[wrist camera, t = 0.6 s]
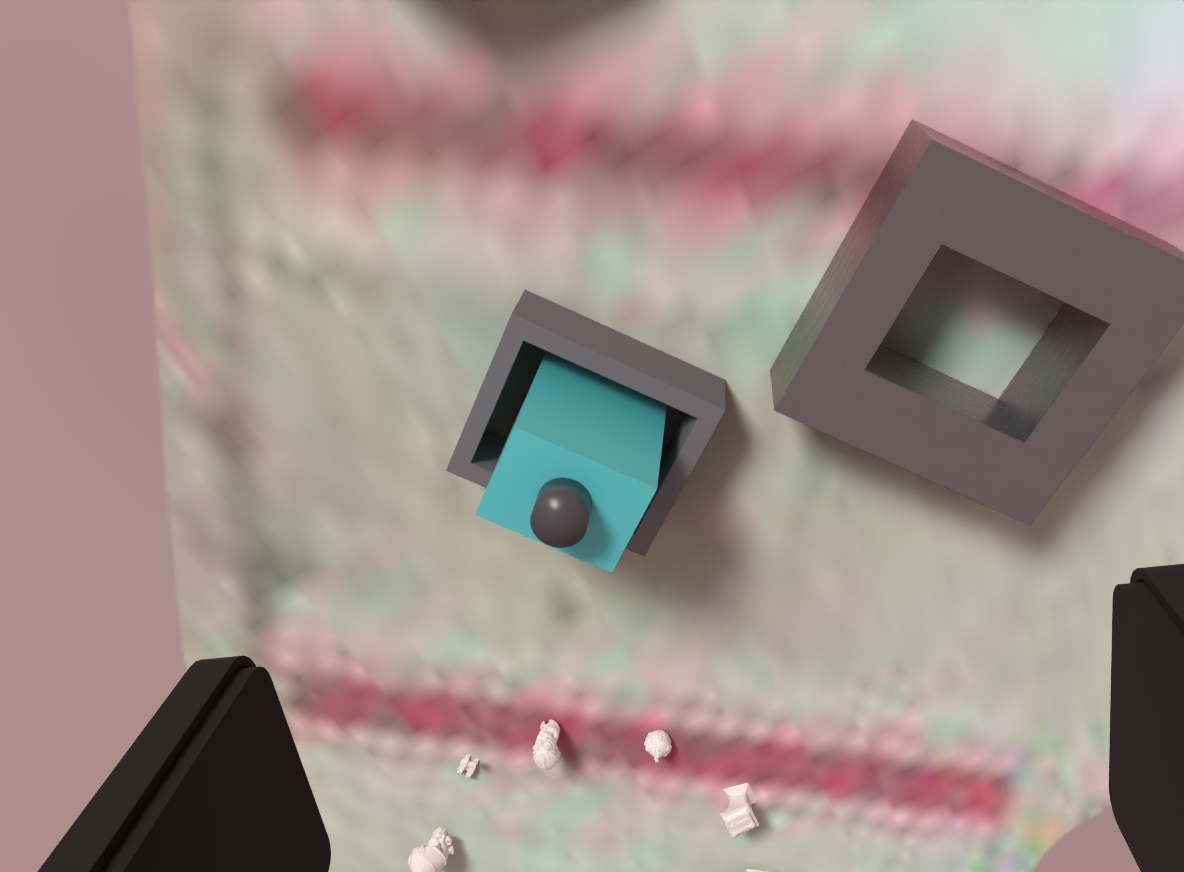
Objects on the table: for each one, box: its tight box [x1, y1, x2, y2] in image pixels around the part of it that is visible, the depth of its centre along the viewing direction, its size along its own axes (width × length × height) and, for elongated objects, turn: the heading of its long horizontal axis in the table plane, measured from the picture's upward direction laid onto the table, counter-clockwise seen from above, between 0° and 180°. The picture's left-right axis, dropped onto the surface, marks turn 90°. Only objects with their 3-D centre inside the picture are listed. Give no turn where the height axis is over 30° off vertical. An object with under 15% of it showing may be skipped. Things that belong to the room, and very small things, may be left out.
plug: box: [475, 351, 667, 573], centre depth 40 cm, size 4×6×10 cm
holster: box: [446, 290, 726, 556], centre depth 43 cm, size 8×9×3 cm
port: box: [770, 120, 1184, 525], centre depth 39 cm, size 11×11×4 cm
